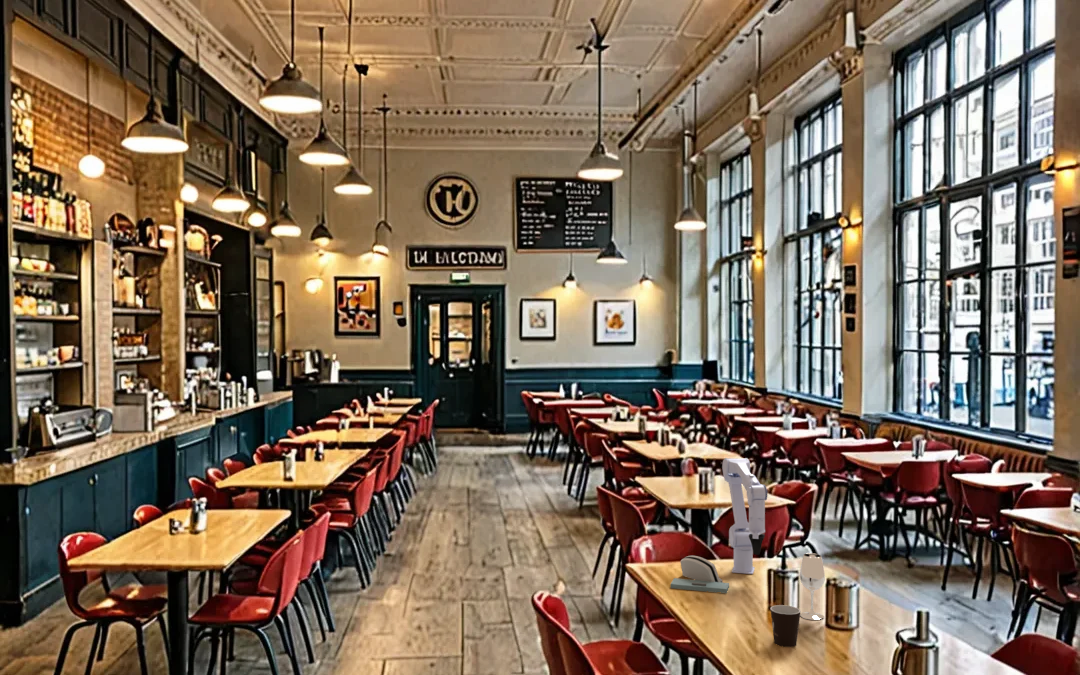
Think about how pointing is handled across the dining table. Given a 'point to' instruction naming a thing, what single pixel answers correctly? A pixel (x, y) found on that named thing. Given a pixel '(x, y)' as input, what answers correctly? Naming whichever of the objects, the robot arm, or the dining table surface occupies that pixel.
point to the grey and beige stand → (699, 569)
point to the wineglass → (812, 580)
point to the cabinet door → (699, 585)
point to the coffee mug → (785, 625)
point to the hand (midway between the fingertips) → (756, 554)
